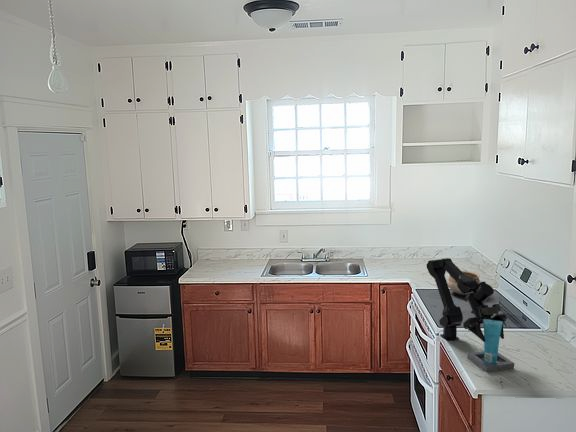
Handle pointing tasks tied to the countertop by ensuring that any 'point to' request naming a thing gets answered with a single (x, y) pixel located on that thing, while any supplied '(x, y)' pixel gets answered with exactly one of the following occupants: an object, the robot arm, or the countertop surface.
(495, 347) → the tube
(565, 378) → the countertop surface
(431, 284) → the countertop surface
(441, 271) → the robot arm
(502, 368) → the grey square frame
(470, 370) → the countertop surface
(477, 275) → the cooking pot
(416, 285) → the countertop surface
